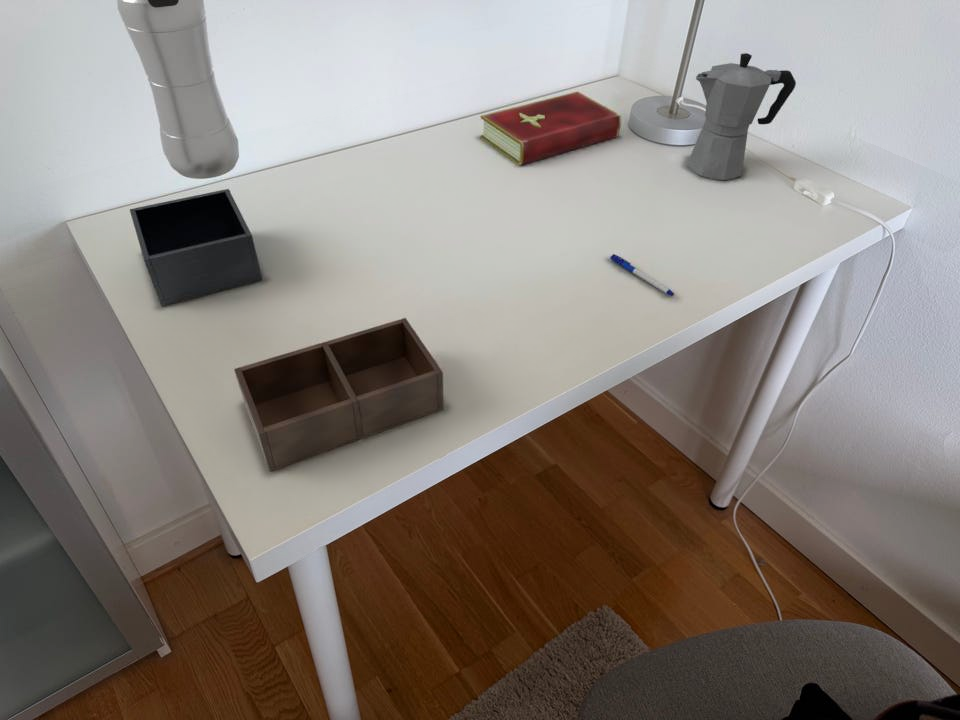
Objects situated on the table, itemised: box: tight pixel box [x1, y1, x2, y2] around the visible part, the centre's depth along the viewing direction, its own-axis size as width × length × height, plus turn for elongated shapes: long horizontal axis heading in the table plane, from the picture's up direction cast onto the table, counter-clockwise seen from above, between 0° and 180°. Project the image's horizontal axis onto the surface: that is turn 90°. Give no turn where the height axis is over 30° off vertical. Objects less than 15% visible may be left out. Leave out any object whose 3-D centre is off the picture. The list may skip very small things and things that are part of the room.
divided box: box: [233, 317, 444, 472], centre depth 69 cm, size 18×9×5 cm, turn 118°
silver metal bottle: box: [116, 0, 240, 180], centre depth 59 cm, size 6×7×20 cm
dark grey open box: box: [129, 188, 263, 307], centre depth 86 cm, size 12×12×7 cm
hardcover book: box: [479, 91, 622, 167], centre depth 117 cm, size 12×21×4 cm, turn 123°
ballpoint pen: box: [609, 253, 675, 297], centre depth 89 cm, size 10×1×1 cm, turn 41°
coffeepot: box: [686, 52, 797, 181], centre depth 106 cm, size 15×9×18 cm, turn 93°
